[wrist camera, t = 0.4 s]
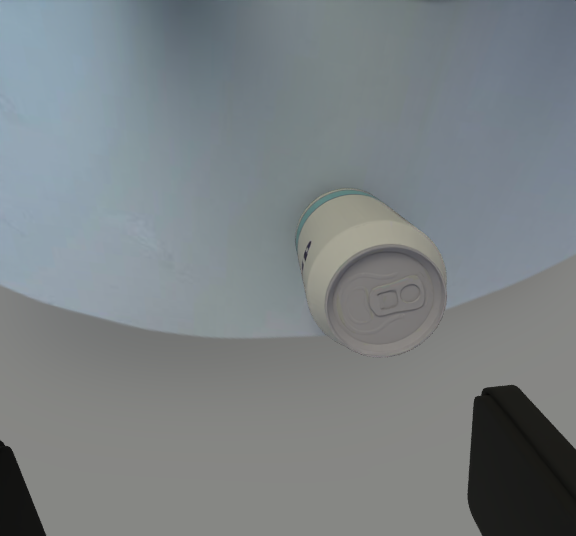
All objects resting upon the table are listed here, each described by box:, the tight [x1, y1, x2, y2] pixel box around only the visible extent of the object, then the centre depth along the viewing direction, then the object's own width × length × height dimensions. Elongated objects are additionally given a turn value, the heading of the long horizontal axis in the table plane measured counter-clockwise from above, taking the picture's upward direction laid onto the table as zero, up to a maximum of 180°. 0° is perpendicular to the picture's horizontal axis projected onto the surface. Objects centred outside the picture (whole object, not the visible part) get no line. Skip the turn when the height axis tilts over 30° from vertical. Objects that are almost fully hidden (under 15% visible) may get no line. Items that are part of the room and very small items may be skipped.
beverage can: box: [295, 188, 447, 357], centre depth 25 cm, size 7×7×12 cm
